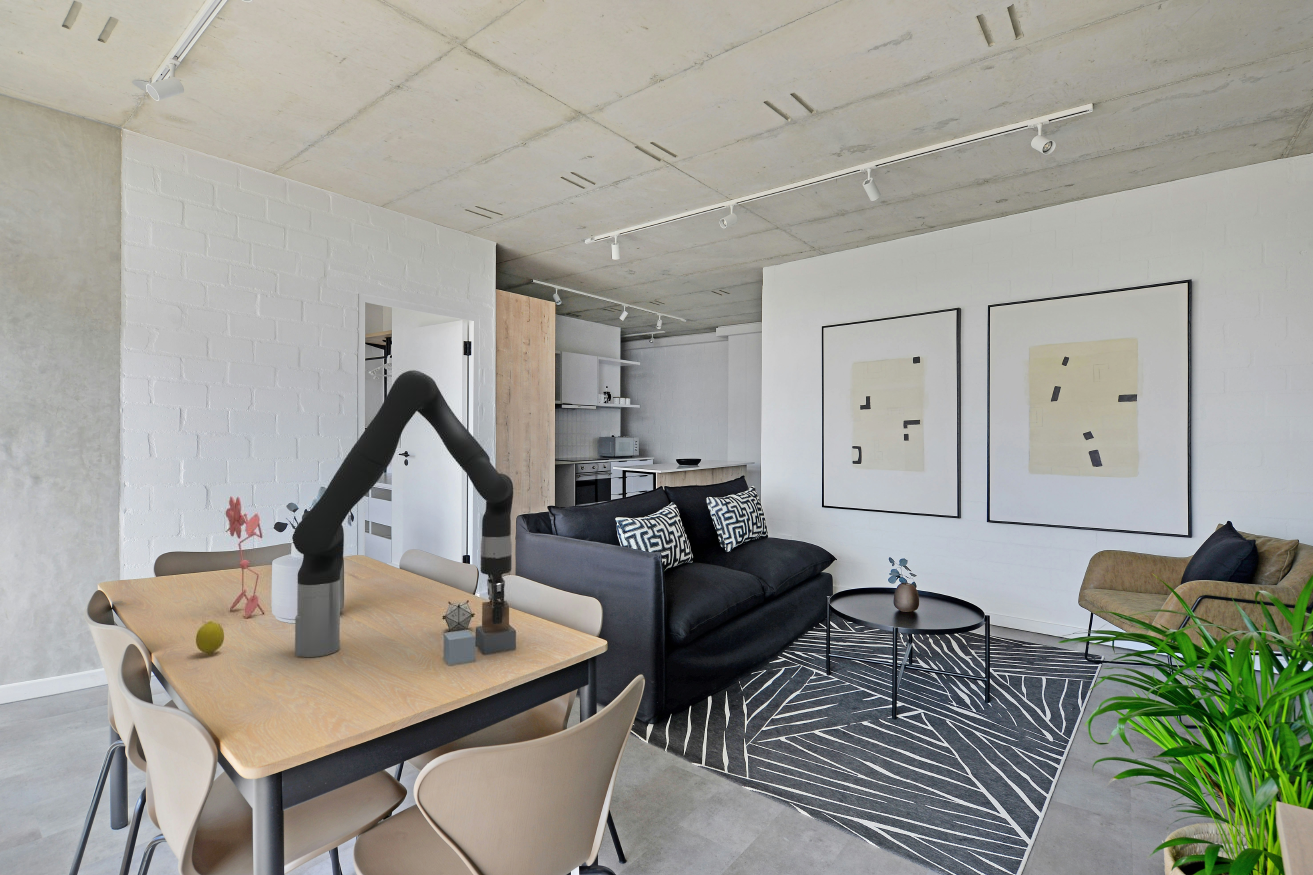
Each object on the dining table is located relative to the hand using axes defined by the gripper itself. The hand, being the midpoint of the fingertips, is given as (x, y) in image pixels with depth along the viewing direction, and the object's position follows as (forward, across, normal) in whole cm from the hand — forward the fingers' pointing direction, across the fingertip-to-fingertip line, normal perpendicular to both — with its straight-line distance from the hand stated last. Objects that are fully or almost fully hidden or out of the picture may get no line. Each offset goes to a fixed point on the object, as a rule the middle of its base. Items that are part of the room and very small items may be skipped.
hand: (495, 618), depth 158 cm
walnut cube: (+2, 0, 0) cm, 2 cm away
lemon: (+7, -17, -65) cm, 68 cm away
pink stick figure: (+7, -53, -69) cm, 87 cm away
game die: (+7, -17, -8) cm, 20 cm away
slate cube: (+7, +6, -9) cm, 13 cm away
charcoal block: (+7, 0, 0) cm, 7 cm away
